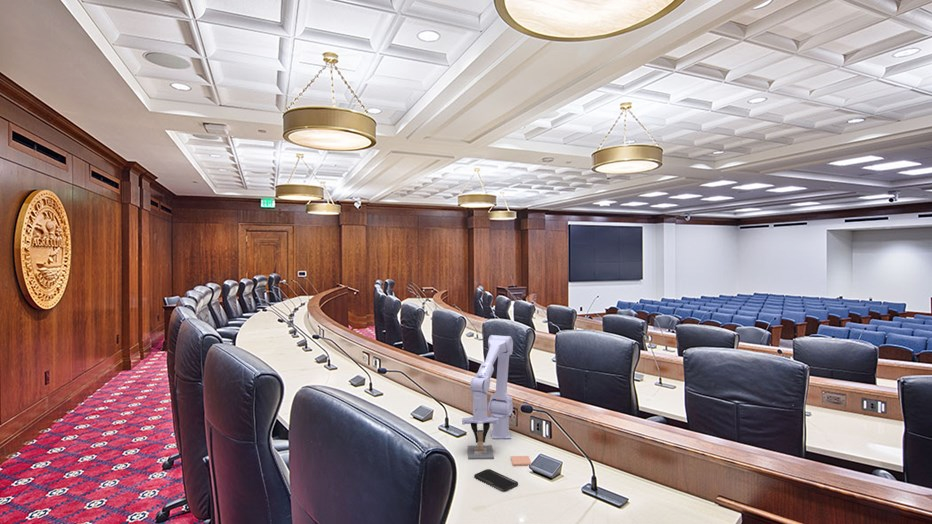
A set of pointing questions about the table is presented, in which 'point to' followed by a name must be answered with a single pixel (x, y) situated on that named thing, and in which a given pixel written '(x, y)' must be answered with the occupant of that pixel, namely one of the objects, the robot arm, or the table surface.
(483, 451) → the grey square paddle
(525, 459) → the tile
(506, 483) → the phone
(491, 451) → the mat
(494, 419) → the robot arm
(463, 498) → the table surface
